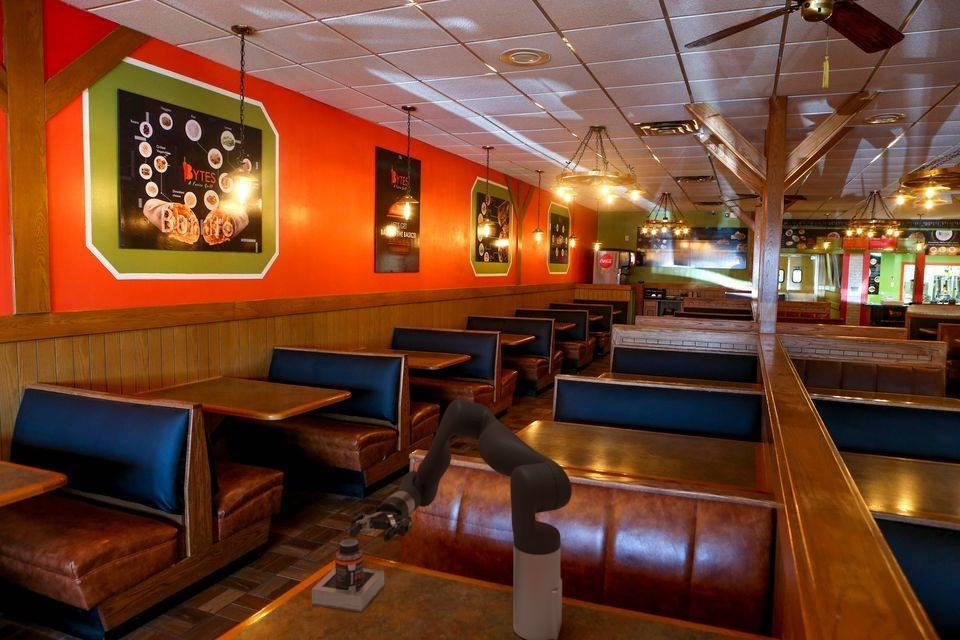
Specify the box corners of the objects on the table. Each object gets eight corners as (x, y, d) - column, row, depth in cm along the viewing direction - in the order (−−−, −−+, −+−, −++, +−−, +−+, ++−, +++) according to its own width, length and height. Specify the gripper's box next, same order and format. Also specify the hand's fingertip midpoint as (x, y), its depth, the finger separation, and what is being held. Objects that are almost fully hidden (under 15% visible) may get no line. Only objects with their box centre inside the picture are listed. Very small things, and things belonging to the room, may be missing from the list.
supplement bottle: (360, 599, 136) (359, 548, 135) (332, 599, 137) (331, 548, 136) (366, 586, 142) (365, 536, 141) (339, 585, 142) (338, 536, 142)
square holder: (384, 585, 143) (384, 570, 143) (361, 612, 132) (361, 596, 132) (338, 579, 146) (337, 564, 146) (312, 604, 135) (311, 589, 135)
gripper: (370, 493, 166) (340, 517, 150) (421, 498, 162) (396, 523, 146) (370, 521, 166) (341, 547, 151) (421, 527, 162) (397, 554, 147)
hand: (368, 535), depth 148 cm, fingers open, 8 cm apart
